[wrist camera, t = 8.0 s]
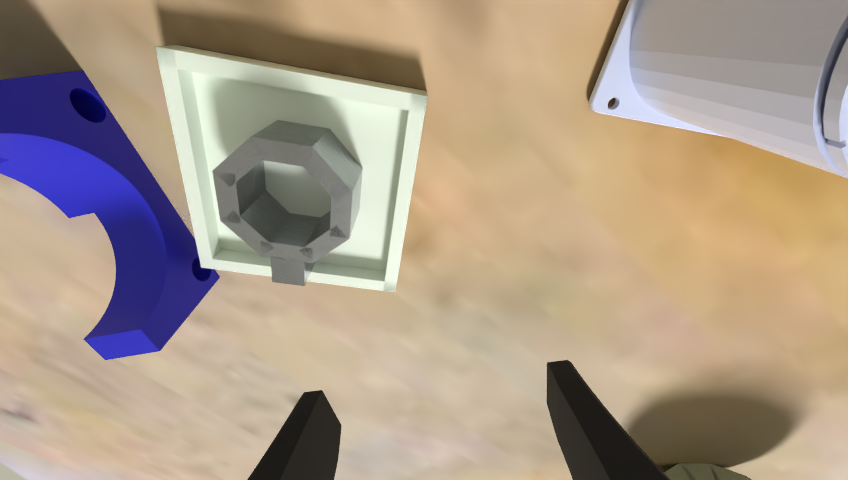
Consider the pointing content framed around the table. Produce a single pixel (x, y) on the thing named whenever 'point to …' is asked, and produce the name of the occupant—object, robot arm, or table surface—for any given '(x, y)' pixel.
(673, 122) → the robot arm
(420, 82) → the table surface
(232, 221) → the grey octagonal ring
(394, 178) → the tray
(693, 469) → the spool
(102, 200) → the cable clip
